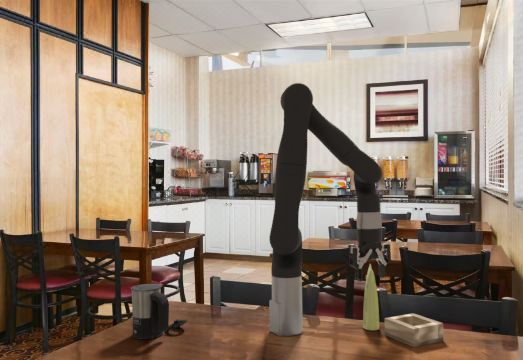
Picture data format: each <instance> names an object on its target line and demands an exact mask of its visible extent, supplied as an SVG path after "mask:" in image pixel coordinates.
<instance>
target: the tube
mask: <svg viewBox="0 0 523 360" xmlns="http://www.w3.org/2000/svg"><path fill="white" fill-rule="evenodd" d="M366 273H367V274H366V279H365V286H364V294H363V295H364V297H363V313H362V327H363V329H364V330H366V331H367V330H368V331H378V330H380V313H379V312H380V311H379V296H378V291H377V290H378V289H377V283H376V277H375V273H374V271H373V267H372V264H369V266H368V269H367V272H366Z"/></svg>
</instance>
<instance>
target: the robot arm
mask: <svg viewBox="0 0 523 360" xmlns="http://www.w3.org/2000/svg"><path fill="white" fill-rule="evenodd" d="M313 101H314V96H313V93H312V90H311V89H310V87H309V86H307V84H304V83H302V82H294V83H292V84H290V85H289V86H287V87H286V89H284V91H283V92H282V94H281V95H280V107H281V108H282V111H283V129H282V135H281V138H280V142H279V145H278V150H277V156H276V162H275V163H276V164H275V176H274V177H275V179H274V211H273V217H272V224H271V228H270V232H269V244H270V247H271V249H272V263H271V269H270V271H271V273H270V274H271V299H270V300H269V301H268V302H269V307H268V308H269V331H270V332H271V333H273V334H275V335H277V336H278V337H280V336H282V337H283V336H284V337H285V336H288V337H289V336H290V337H291V336H296V335H300V334H302V333H303V327H304V326H303V280H302V279H303V277H302V270H303V236H302V231H301V229H300V228H299V218H300V217H299V216H300V215H299V213H300V212H299V210H300V205H301V201H302V198H303V195H304V189H305V185H306V184H305V183H306V175H307V166H308V131H309V132H311V133H312V135H314V136H315V137H316V139H318V140H319V142H321V143H322V145H323V146H325V148H326V149H327V150H328V151H329V152H330V153H331V154H332V155H333V156H334V158H336V159H337V160H338V161H339V162H340V163H341V164H342V165H344V166H346V167H348V168H350V170H351V171H352V172H353V184H354V190H355V194H356V213H357V214H356V239H357V242H358V243H357V247H355V246H350V247H349V249H348V253H349V254H348V257H349V258H348V266H349V267H352V268H354V274H355V275H354V277H355V279H356V281H359V282H363V279H364V276H363V273H364V272H363V266H364V264H366V263H367V261H371V260H375V261H376V262H377V263H378V277H379V278H381V279H384V278H385V277H386V275H387V267H386V266H387V265H388V264H390V263H392V255H391V253H392V252H391V245H390V244H389V243H383V242H382V241H383V228H382V227H383V226H382V224H383V222H382V215H381V214H382V213H381V197H380V194H378V192H377V187H376V184H377V183H379V182H380V181H381V179H382V175H383V172H382V168H381V166H380V165H379V163H378V162H377V161H376V160H374V159H373V158H372V157H371V156H370V155H368V154H367V153H366V152H365V151H363V150H362V149H361V148H359V147H358V146H357V145H356V144H355V142H354V141H353V140H352V139H351V138H350V137H349V136H348V135H347V134H346V133H345V132H344V131H342V129H340V128H339V127H338V126H336V125H335V124H333V123H332V122H331V121H329V120H328V119H327V118H326V117H325V116H324V115H322V114H321V112H320V111H319V110H318V109H317V108H316V106H315V105H314V103H313Z"/></svg>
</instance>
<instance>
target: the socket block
mask: <svg viewBox="0 0 523 360" xmlns="http://www.w3.org/2000/svg"><path fill="white" fill-rule="evenodd" d="M384 336H386V337H388V338H391V339H393V340H396V341H397V342H400V343H402V344H406V345H407V346H410V347H412V348H417V347H422V346H426V345H431V344H436V343H438V342H444V323H443V322H441V321H439V320H438V321H437V320H435V319H431V318H427V317H425V316H422V315H420V314H416V313H408V314H401V315H396V316H395V315H394V316H391V317H390V316H389V317H385V318H384Z"/></svg>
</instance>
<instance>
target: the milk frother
mask: <svg viewBox="0 0 523 360" xmlns="http://www.w3.org/2000/svg"><path fill="white" fill-rule="evenodd" d="M162 286H163V285H162V284H157V283H144V284H137V285H134V286H131V287H130V290H131V308H132V309H131V311H132V312H131V313H132V334H131V336H132V337H131V338H133V339H135V340H136V339H137V340H150V339H155V338H158V337H161V336H162V335H163V333H164V332H167V331H170V330H172V329H176V328H177V329H179V328H180V327H181V326H183V325H185V324H186V323H188V319H178V318H177V319H174V320H173V322H172V323H171V324H169V322H170V321H169V320H170V317H169V316H170V302H169V298H168V297H167V296H166V295H165V293H163V292H161V291H162V289H161V288H162Z"/></svg>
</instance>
